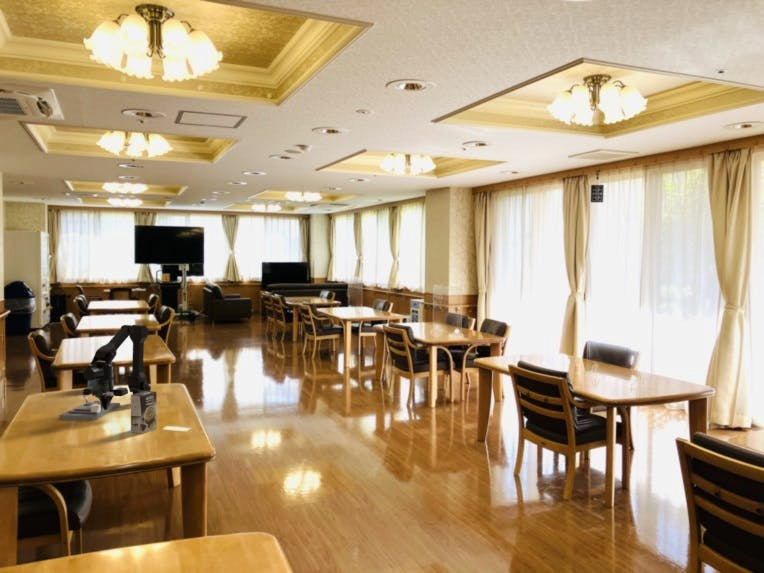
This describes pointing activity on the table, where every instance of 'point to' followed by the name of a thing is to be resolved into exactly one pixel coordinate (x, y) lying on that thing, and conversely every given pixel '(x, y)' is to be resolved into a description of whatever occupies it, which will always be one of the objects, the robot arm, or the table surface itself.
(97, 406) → the slider
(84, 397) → the toggle
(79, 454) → the table surface
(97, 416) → the switch panel
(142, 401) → the coffee box
